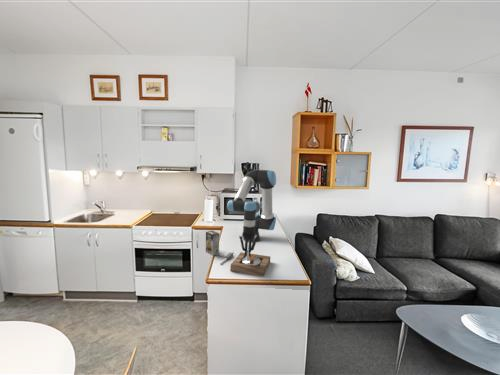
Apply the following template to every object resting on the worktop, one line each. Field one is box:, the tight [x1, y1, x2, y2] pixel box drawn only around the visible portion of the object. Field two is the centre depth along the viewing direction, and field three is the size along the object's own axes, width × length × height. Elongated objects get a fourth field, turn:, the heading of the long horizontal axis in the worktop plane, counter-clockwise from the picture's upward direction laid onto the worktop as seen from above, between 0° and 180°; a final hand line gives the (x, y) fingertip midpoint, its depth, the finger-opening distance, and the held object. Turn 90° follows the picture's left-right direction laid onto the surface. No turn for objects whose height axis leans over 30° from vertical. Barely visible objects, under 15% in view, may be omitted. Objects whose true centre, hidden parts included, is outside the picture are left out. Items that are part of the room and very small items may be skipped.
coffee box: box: [205, 230, 220, 256], centre depth 193 cm, size 9×6×16 cm
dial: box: [242, 253, 261, 266], centre depth 173 cm, size 13×13×8 cm
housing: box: [230, 251, 271, 277], centre depth 174 cm, size 22×22×5 cm
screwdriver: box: [219, 252, 234, 265], centre depth 183 cm, size 17×3×2 cm, turn 157°
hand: (247, 260), depth 168 cm, fingers closed
